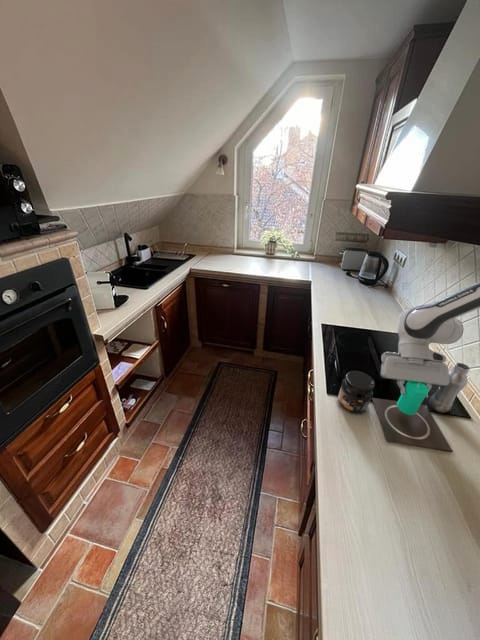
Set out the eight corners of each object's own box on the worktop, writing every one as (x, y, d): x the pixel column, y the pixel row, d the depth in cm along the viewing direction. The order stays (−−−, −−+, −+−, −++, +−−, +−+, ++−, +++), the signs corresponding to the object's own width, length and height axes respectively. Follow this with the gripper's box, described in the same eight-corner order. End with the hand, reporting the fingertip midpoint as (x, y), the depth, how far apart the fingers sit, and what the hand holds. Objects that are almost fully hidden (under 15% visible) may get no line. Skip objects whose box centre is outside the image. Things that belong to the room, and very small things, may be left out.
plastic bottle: (452, 412, 92) (480, 370, 81) (439, 417, 89) (467, 375, 79) (434, 399, 97) (459, 358, 87) (422, 403, 94) (446, 362, 84)
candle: (392, 403, 89) (404, 378, 83) (405, 399, 91) (417, 374, 85) (407, 417, 85) (421, 391, 78) (420, 412, 86) (435, 386, 80)
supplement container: (330, 397, 96) (337, 373, 90) (351, 389, 100) (360, 366, 94) (351, 419, 88) (360, 394, 82) (373, 410, 92) (383, 386, 85)
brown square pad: (425, 406, 94) (426, 405, 93) (451, 452, 78) (452, 450, 78) (371, 398, 96) (371, 397, 96) (386, 441, 81) (387, 440, 80)
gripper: (385, 349, 86) (385, 391, 82) (451, 357, 83) (454, 401, 80) (377, 352, 92) (377, 391, 88) (438, 359, 89) (441, 400, 86)
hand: (414, 396), depth 84 cm, fingers closed on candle, 5 cm apart
